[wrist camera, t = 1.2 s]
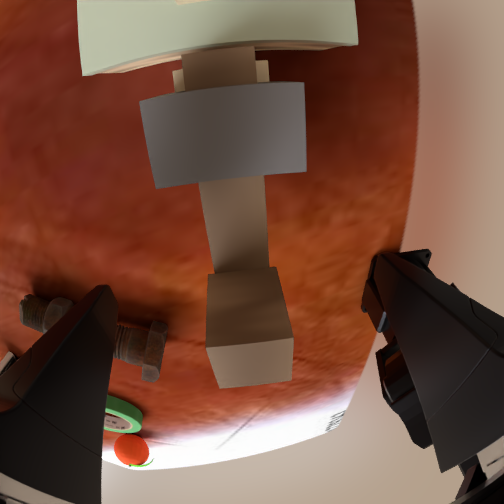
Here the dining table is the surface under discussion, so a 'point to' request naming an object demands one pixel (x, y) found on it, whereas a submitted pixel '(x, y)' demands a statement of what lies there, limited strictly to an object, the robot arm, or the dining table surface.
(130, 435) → the clementine
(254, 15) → the lid
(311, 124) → the dining table surface
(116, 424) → the tape roll
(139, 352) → the bolt
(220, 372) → the key
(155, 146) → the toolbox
